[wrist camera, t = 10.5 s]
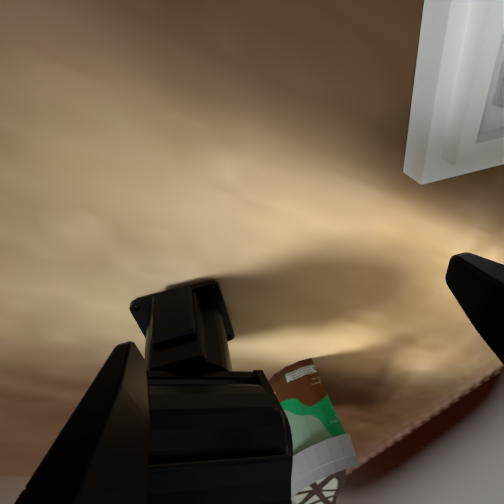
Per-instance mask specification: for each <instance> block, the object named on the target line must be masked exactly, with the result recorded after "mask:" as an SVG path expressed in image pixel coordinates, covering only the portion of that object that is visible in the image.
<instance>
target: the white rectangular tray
mask: <svg viewBox="0 0 504 504" xmlns="http://www.w3.org/2000/svg"><path fill="white" fill-rule="evenodd" d="M503 57H504V0H424V7H423V15H422V23H421V31H420V39H419V47H418V55H417V64H416V72H415V80H414V88H413V96H412V104H411V112H410V120H409V128H408V136H407V144H406V152H405V160H404V168H403V173H405V174H406V175H408V176H409V177H411V178H412V179H413V180H415V181H416V182H418V183H419V184H421V185H423V184H427V183H431V182H435V181H439V180H443V179H447V178H450V177H454V176H458V175H462V174H466V173H470V172H474V171H478V170H482V169H486V168H490V167H494V166H498V165H502V164H504V109H503V108H500V107H497V106H494V105H491V103H492V99H493V95H494V91H495V87H496V84H497V80H498V76H499V72H500V68H501V64H502V61H503Z"/></svg>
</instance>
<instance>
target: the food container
mask: <svg viewBox="0 0 504 504" xmlns="http://www.w3.org/2000/svg"><path fill="white" fill-rule="evenodd" d="M268 382H269V384H270V386H271V387H272V389H273V391H274V393H275V395H276V397H277V399H278V400H279V402H280V404H281V406H282V408H283V410H284V412H285V414H286V416H287V418H288V421H289V424H290V428H291V434H292V442H293V466H292V476H291V501H292V504H335V503H336V498H337V496H338V494H339V493H340V492H341V491H342V489H343V488H344V483H345V474H346V469H348V468H351V467H355V466H359V463H358V461H357V458H356V456H355V455H356V453H355V450H354V448H353V445H352V442H351V439H350V436H349V434H348V433H347V434H345V432H344V429H343V427H342V425H341V423H340V421H339V418H338V416H337V414H336V412H335V410H334V407H333V405H332V403H331V401H330V399H329V396H328V394H327V392H326V390H325V388H324V385H323V383H322V381H321V379H320V377H319V374H318V372H317V370H316V368H315V365H314V363H313V361H312V359H311V358H310V359H306V360H302V361H299V362H296V363H294V364H292V365H289V366H287V367H285V368H283V369H282V370H280V371H279V372H277V373H276V374H275V375H273V376H272V377H271V378H270V380H269V381H268Z"/></svg>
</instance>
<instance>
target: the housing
mask: <svg viewBox="0 0 504 504" xmlns="http://www.w3.org/2000/svg"><path fill="white" fill-rule="evenodd" d="M491 105H494V106H497V107H500V108H503V109H504V57H503V61H502V64H501V68H500V72H499V76H498V80H497V84H496V87H495V91H494V95H493V99H492V103H491Z"/></svg>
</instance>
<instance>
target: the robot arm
mask: <svg viewBox="0 0 504 504" xmlns="http://www.w3.org/2000/svg"><path fill="white" fill-rule="evenodd" d="M445 278H446V283H447V285H448V287H449V289H450V290H451V292H452V293H453V295H454V296H455V298H456V300H457V301H458V303H459V304H460V306H461V307H462V309H463V310H464V312H465V314H466V315H467V317H468V318H469V320H470V321H471V323H472V324H473V326H474V327H475V329H476V330H477V331H478V333H479V334H480V335H481V337H482V338H483V339H484V341H485V342H486V343H487V344H488V346H489V347H490V348H491V349H492V351H493V352H494V353H495V354H496V356H497V357H498V358H499V359H500V361H501V362H502V363H503V364H504V265H503V264H500V263H497V262H494V261H491V260H488V259H485V258H483V257H480V256H477V255H474V254H471V253H467V252H466V253H461V254H457V255H454V256H452V257H451V258H450V261H449V265H448V269H447V273H446V277H445ZM212 286H214V288H210V287H212ZM135 306H139V307H135ZM130 311H131V313H132V315H133V317H134V318H135V320H136V322H137V324H138V325H139V327H140V329H141V331H142V333H143V334H144V336H145V338H146V345H145V360H144V358H143V356H142V355H141V353H140V351H139V350H138V348H137V346H136V345H135V343H134V342H132V341H129V342H126V343H122V344H118V345H117V346H116V347H115V348H114V349H113V351H112V353H111V354H110V356H109V357H108V359H107V360H106V362H105V363H104V365H103V367H102V368H101V370H100V371H99V373H98V374H97V376H96V377H95V379H94V381H93V382H92V384H91V385H90V387H89V388H88V390H87V391H86V393H85V395H84V396H83V398H82V399H81V401H80V402H79V404H78V405H77V407H76V409H75V410H74V412H73V413H72V415H71V416H70V418H69V419H68V421H67V423H66V424H65V426H64V427H63V429H62V430H61V432H60V433H59V435H58V437H57V438H56V440H55V441H54V443H53V444H52V446H51V447H50V449H49V451H48V452H47V454H46V455H45V457H44V458H43V460H42V461H41V463H40V464H39V466H38V468H37V469H36V471H35V472H34V474H33V475H32V477H31V479H30V480H29V482H28V483H27V485H26V489H25V490H23V491H22V492H21V494H20V495H19V497H18V498H17V500H16V502H15V503H14V504H292V501H291V476H292V466H293V442H292V434H291V428H290V424H289V421H288V418H287V416H286V414H285V412H284V410H283V408H282V406H281V404H280V402H279V400H278V399H277V397H276V395H275V393H274V391H273V389H272V387H271V386H270V384H269V382H268V380H267V378H266V376H265V374H264V373H263V371H262V370H254V371H232V366H231V360H230V354H229V349H228V343H227V341H230V340H232V339H233V338H234V331H233V328H232V325H231V322H230V318H229V315H228V312H227V308H226V305H225V302H224V299H223V295H222V292H221V289H220V286H219V283H218V282H217V281H215V280H210V281H206V282H203V283H199V284H195V285H191V286H187V287H183V288H179V289H176V290H172V291H168V292H164V293H160V294H156V295H152V296H149V297H145V298H141V299H137V300H134V301H132V302H131V303H130Z"/></svg>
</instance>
